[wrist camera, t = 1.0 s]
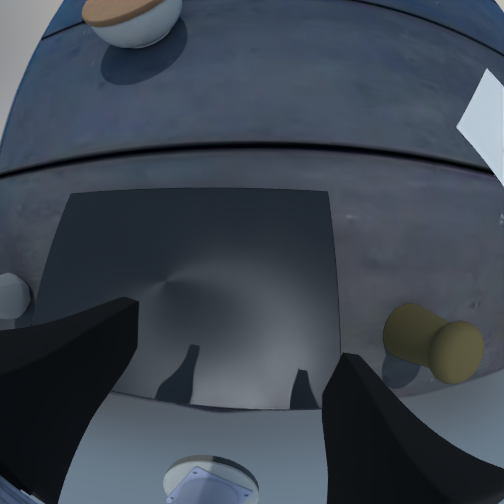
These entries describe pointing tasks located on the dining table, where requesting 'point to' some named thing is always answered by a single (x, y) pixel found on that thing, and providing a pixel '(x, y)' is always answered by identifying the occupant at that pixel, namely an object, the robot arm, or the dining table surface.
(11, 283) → the salt shaker
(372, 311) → the dining table surface
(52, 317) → the panel
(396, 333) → the olive peanut shape
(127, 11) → the lidded bowl
